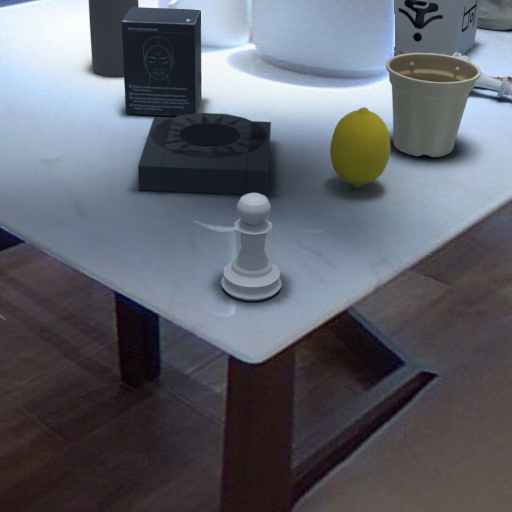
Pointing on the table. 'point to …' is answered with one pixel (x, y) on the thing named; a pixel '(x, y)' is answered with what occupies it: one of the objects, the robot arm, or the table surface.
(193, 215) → the table surface
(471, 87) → the flower pot
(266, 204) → the chess piece
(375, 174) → the lemon
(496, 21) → the sneaker
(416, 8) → the icon cube
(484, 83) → the chess piece
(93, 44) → the bottle
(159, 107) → the box
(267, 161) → the dark grey holder base
